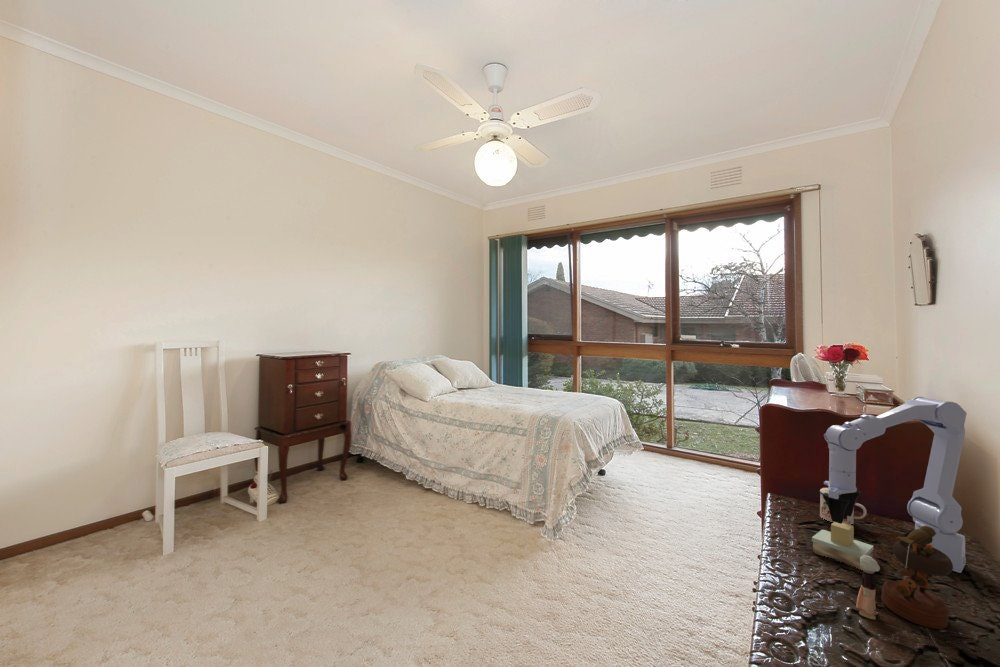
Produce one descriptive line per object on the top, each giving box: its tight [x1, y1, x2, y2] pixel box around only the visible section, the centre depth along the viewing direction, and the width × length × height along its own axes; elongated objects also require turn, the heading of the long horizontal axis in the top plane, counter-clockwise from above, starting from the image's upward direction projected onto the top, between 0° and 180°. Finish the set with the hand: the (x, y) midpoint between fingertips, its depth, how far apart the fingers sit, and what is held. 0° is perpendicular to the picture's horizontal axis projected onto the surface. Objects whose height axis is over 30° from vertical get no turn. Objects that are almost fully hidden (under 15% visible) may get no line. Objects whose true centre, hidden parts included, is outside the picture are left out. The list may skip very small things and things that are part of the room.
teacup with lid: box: [819, 487, 867, 526], centre depth 136 cm, size 12×9×12 cm
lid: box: [811, 522, 874, 558], centre depth 114 cm, size 11×8×6 cm
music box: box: [880, 526, 953, 630], centre depth 92 cm, size 15×11×20 cm
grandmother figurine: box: [855, 555, 881, 620], centre depth 91 cm, size 8×4×13 cm, turn 141°
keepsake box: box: [812, 541, 873, 571], centre depth 114 cm, size 11×8×3 cm
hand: (841, 518), depth 114 cm, fingers open, 7 cm apart
